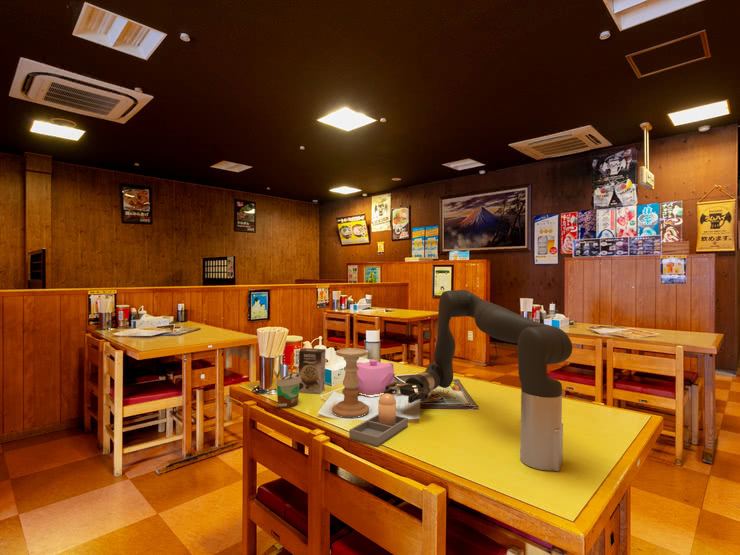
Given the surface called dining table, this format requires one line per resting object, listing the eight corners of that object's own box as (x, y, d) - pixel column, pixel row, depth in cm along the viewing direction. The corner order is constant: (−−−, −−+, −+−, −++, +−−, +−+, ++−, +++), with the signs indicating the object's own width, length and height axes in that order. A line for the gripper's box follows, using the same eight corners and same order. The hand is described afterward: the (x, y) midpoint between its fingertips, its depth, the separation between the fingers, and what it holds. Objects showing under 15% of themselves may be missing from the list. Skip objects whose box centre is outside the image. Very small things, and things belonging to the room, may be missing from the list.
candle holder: (368, 418, 125) (369, 355, 125) (330, 418, 126) (330, 354, 125) (369, 405, 138) (370, 347, 137) (334, 405, 138) (334, 347, 138)
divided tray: (407, 426, 119) (407, 418, 119) (377, 447, 105) (377, 437, 105) (381, 420, 124) (381, 412, 124) (349, 438, 110) (349, 429, 110)
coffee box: (297, 392, 152) (298, 350, 152) (303, 388, 158) (303, 347, 158) (320, 394, 150) (321, 351, 150) (325, 389, 157) (325, 348, 156)
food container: (293, 411, 131) (293, 381, 131) (275, 409, 133) (276, 379, 133) (306, 399, 143) (306, 372, 143) (290, 398, 145) (290, 371, 145)
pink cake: (393, 385, 163) (394, 355, 163) (395, 398, 146) (395, 365, 146) (352, 385, 163) (352, 355, 163) (349, 398, 146) (349, 364, 146)
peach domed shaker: (398, 425, 119) (399, 393, 119) (390, 430, 115) (390, 397, 114) (384, 421, 122) (384, 390, 122) (374, 426, 117) (375, 394, 117)
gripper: (401, 371, 140) (377, 381, 127) (439, 377, 133) (417, 389, 119) (401, 392, 141) (377, 404, 127) (439, 399, 133) (417, 414, 119)
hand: (397, 397), depth 123 cm, fingers open, 8 cm apart
